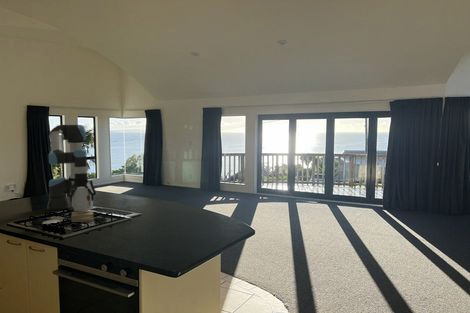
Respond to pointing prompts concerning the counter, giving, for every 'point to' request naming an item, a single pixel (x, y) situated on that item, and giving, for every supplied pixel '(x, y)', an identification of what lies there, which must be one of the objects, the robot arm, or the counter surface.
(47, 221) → the cream smooth round part
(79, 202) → the supplement box
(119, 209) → the counter surface
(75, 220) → the maple block
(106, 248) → the counter surface
